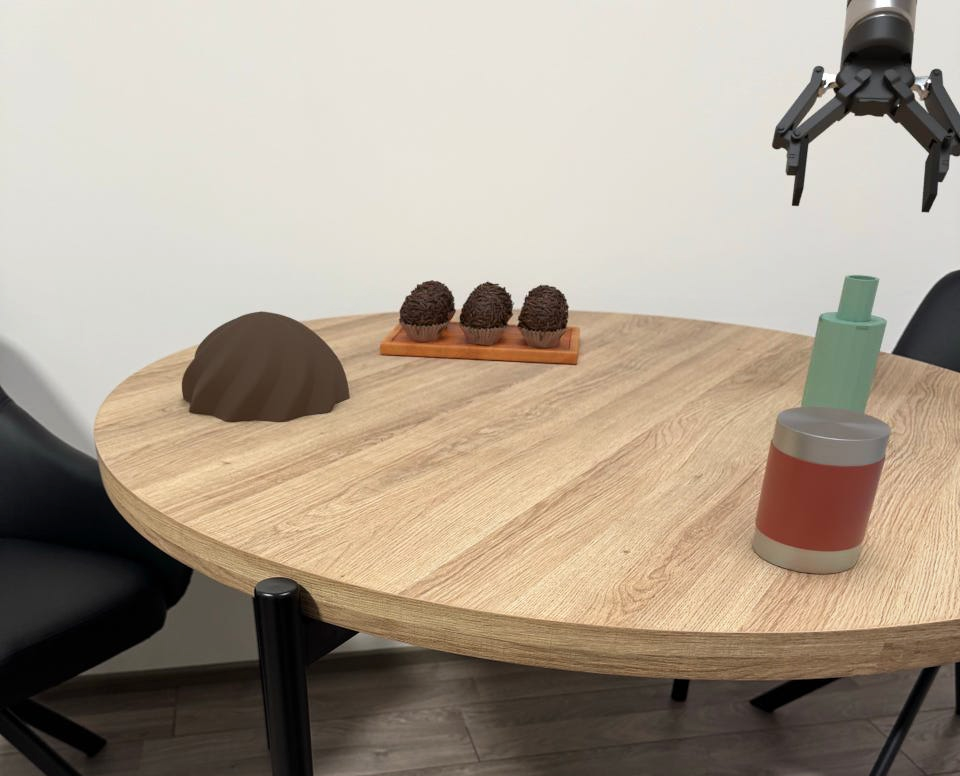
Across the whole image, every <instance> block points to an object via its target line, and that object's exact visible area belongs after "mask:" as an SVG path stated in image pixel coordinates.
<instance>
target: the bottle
mask: <svg viewBox="0 0 960 776" xmlns="http://www.w3.org/2000/svg"><path fill="white" fill-rule="evenodd" d="M879 282H880V278H878V277H876V276H872V275H864V274H848V275H845V276H844V281H843V284H842V290H841V294H840V299H839V303H838V307H837V308H838V309H837V311H830V312H829V311H828V312H823V313H820V315H818V321H817V326H816V330H815V335H814V340H813V345H812V349H811V355H810V359H809V364H808V369H807V374H806V379H805V383H804V387H803V393H802V398H801V403H800V407H830V408H839V409H845V410H851V411H855V412H860V413H863V414H866V413H865V412H866V410H867V409H866V408H867V406H868V401H869V397H870V393H871V388H872V385H873V380H874V376H875V372H876V368H877V365H878V360H879V356H880V352H881V348H882V345H883V339H884V335H885V331H886V327H887V323H888V320H886V319H885V318H883V317H881V316H877V315H873V314H872V312H873V308H874V304H875V300H876V296H877V290H878V287H879V284H880V283H879Z"/></svg>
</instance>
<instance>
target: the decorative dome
mask: <svg viewBox="0 0 960 776" xmlns="http://www.w3.org/2000/svg"><path fill="white" fill-rule="evenodd" d="M181 393H182V399H184V400H185V401H187V402H189V403H190V405H189V408H188V412H189V413H192V414H200V415H208V416H212V417H215V418H217V419H220V420H222V421H224V422H228V423H229V422H230V423H234V422H246V421H264V422H265V421H266V422H275V423H276V422H277V423H283V422H289V421H291V420H294V419H297V418H300V417H303V416H310V415H321V414H328V413H331V412H332V411H333V409H334V406H335V405H336V404H338V403H341V402H343V401H346V400H348V399H350V388H349V382H348V379H347V374H346V371H345V369H344V367H343V364H342V363H341V360H340V358H339V357H338V356H337V354H336V353H335V352H334V350H333V349H332V348H331V347H330V346H329V344H328V343H327V342H326V341H325V340H323V339H322V337H321V336H319V335H318V334H317V333H316V332H315V331H313V330H312V329H311V328H310V327H308V326H307V325H305V324H304V323H302V322H300V321H299V320H296V319H294V318H292V317H290V316H286V315H284V314H280V313H275V312H270V311H264V310H263V311H255V312H248V313H246V314H242V315H240V316H238V317H236V318H233V319H231V320H229V321H226V322H225V323H223V324H221V325H220V326H218V327H215V329H213V330H212V331H211V332H210V333H209V334H208V335H206V337H204V339H203V340H201V342H200V343H199V345H198V347H197V348H196V350H195V352H194V358H193V359H192V360H191V362H190V363H189V364H188V366H187V368H186V369H185V371H184V373H183V375H182V379H181Z"/></svg>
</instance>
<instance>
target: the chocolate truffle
mask: <svg viewBox="0 0 960 776" xmlns="http://www.w3.org/2000/svg"><path fill="white" fill-rule="evenodd" d="M523 301H524V302H523V303H522V306H521V308H520V312H519V315H518V316H517V321H518V323H517V324H515V323H508V322H509V321H510V320H511V318H512V317H513V316H514V312H513V309H514V305H515V302H513V300H512V294H511V293H510V292H507V289H506V287H505V286H503V287H502V286H500V284H499V283H493V282H490V281H489V280H488V281H486V282H483V283H479V285H477V286H476V287H474V288H473V290H472V291H471V292H470V293H469V295H468V297H467V298H466V300H465V302H464V303H463V304H462V307H461V310H460V314H459V321H453V320H452V319H453V318H454V316H455V314H456V313H457V310H456V308H455V307H456V306H455V305H456V303H455V297H454V295H453V291H452V290H450V288H449V287H448V286H447V285H446V284H445V283H442V282H441V281H438V280H433V279H431V280H426V281H422V283H421V284H419V283H418V284H417V283H416V287H414V289H412V290H411V291H410V294H408V295H405V298H404V301H403V302H402V304H401V306H400V309H399V319H398V323H397V325H395V327H394V328H393V329H392V330H391V331H390V332H389V334H387V336H386V337H385V338H384V339H383V340H382V341H381V343H380V344H379V353H380V354H381V355H382V356H383V355H384V356H403V357H405V356H406V357H422V358H423V357H425V358H442V359H443V358H445V359H465V360H483V361H484V360H485V361H503V362H525V363H545V364H546V363H548V364H566V365H576V364H577V363H578V359H579V358H578V357H579V347H580V334H581V328H580V326H568V324H569V320H568V319H569V316H570V315H569V308H570V306H569V304H568V302H567V301H568V300H567V298H566V296H565V293H562V291H561V290H560V289H557V287H555V286H550V285H549V284H539V285H538V286H536V287H533V288H532V289H531V290H529V291H528V295H527V294H526V295H525V297H524V300H523Z"/></svg>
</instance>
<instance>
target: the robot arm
mask: <svg viewBox="0 0 960 776" xmlns="http://www.w3.org/2000/svg"><path fill="white" fill-rule="evenodd" d="M917 6H918V0H846V8H845V9H846V10H845V12H846V13H845V21H844V29H843V37H842V47H841V54H840V55H841V56H840V65H839V71H838V73H837V74H834V73H825V68H824V67H823V66H822V65H816V66H814V67H813V69H812V72H811V77H810V80H809V82H808V84H807V85H806V86H805V87H804V89H803V90H802V92H801V93H800V94H799V96H797V98H796V99H795V100H794V102H793V104H791V106H790V107H789V109H788V110H787V111H786V113H784V115H783V116H782V118H781V119H780V120H779V122H778V123H777V124H776V126H775V129H774V133H773V137H772V142H771V147H772V149H774V150H780V149H784V150H785V151H786V155H785V156H786V164H785V174H786V176H791V177H792V176H793V177H794V180H793V181H794V182H793V191H792V200H791V207H799V206H800V203H801V199H802V195H803V192H804V188H805V180H806V170H807V161H808V154H809V153H808V152H809V145H810V144H811V143H812V142H814V140H816V139H817V138H818V137H819V136H820V135H822V134H823V133H824V132H825V131H826V130H828V129H829V128H830V127H831V126H832V125H834V124H835V123H836V122H840V121H842V120H843V119H845V117H847V115H849V114H850V113H852V114H854V115H853V116H854V117H865V116H872V117H877V118H884V116H885V115H887V117H888V118H889V119H890V120H891V121H892V122H893V123H894V124H900V125H901V126H902V127H903V128H904V130H905V131H907V132H908V133H909V134H910V135H911V137H912V138H913V139H914V140H915V141H916V142H917V143H918V144H919V145H920V146H921V147H922V148H923V149H924V150H925V151H926V152H927V153H928V155H927V157H926V160H925V162H924V174H923V188H922V200H921V213H930V211H931V209H932V207H933V204H934V202H935V200H936V198H937V196H938V193H939V192H938V190H939V183H943V182H944V180H945V179H946V177H947V174H948V172H949V170H950V159H951V156H953V157H957V158H958V157H960V112H959V111H958V109H957V107H956V105H955V103H954V101H953V100H952V98H951V96H950V94H949V93H948V91H947V89H946V88H945V86H944V78H943V77H944V76H943V71H942V69H939V68H934V69H932V70H931V71H930V73H929V75H921V76H916V75H915V74H914V72H913V69H912V66H913V53H914V41H915V30H916V17H917ZM830 89H832V90H833V93H834V96H833V97H832V98H831V99H830V100H829V101H827V102H826V103H825V104H823V105H822V106H821V107H820V108H819V109H818V110H816V111H815V112H814V113H813V114H812V115H810V116H809V117H808V118H807V119H806V120H804V119H805V117H806V116H807V115H808V113H809V112H810V111H811V110H812V108H813V107H814V106H815V104H816V102H817V99H818V98H823V95H825V94H826V93H827V91H828V90H830ZM915 92H916V93H917V94H918V96H919V98H918V99H919V101H921V102H923V103H924V106H925V107H923V105H922V104H921V103H920V102H918V101H917V99H916V95H915ZM803 120H804V121H803ZM802 121H803V122H802Z"/></svg>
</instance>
